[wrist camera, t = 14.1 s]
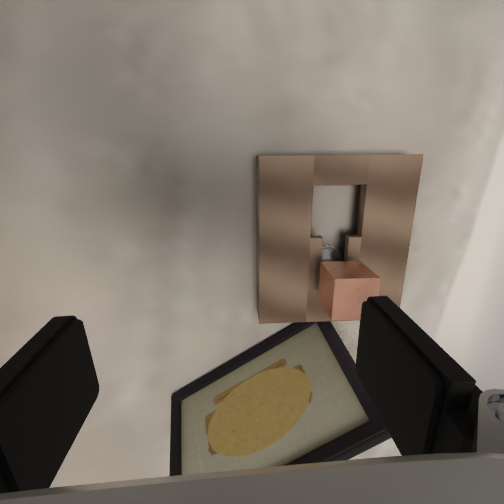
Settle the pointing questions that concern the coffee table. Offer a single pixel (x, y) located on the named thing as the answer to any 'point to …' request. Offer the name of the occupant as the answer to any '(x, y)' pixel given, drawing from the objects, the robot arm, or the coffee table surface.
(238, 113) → the coffee table surface
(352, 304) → the peg
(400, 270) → the keyhole board
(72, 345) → the robot arm
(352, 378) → the picture frame
